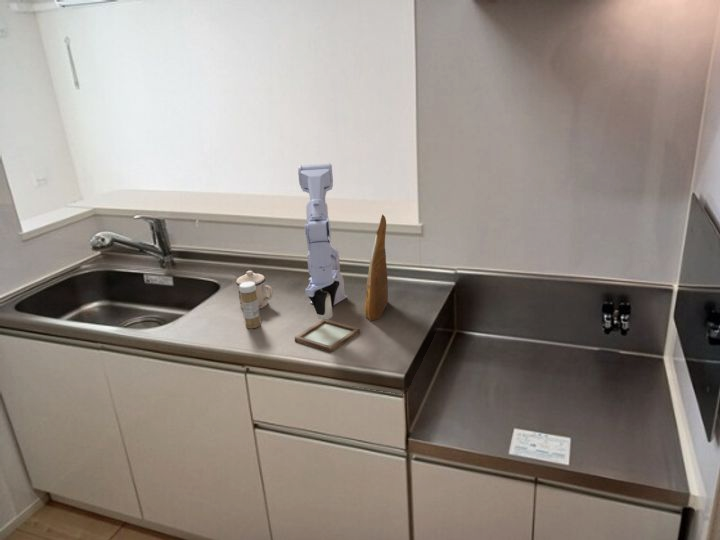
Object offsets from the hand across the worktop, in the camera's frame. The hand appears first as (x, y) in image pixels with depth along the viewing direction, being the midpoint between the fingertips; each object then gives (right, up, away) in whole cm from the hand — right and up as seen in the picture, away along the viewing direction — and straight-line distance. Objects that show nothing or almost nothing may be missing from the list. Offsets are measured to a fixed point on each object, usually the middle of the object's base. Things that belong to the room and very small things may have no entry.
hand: (325, 310), depth 156 cm
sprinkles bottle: (-22, -6, +13) cm, 26 cm away
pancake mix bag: (+16, -1, +17) cm, 23 cm away
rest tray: (+1, -8, +3) cm, 8 cm away
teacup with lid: (-23, 0, +26) cm, 34 cm away
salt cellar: (0, -2, +1) cm, 2 cm away
